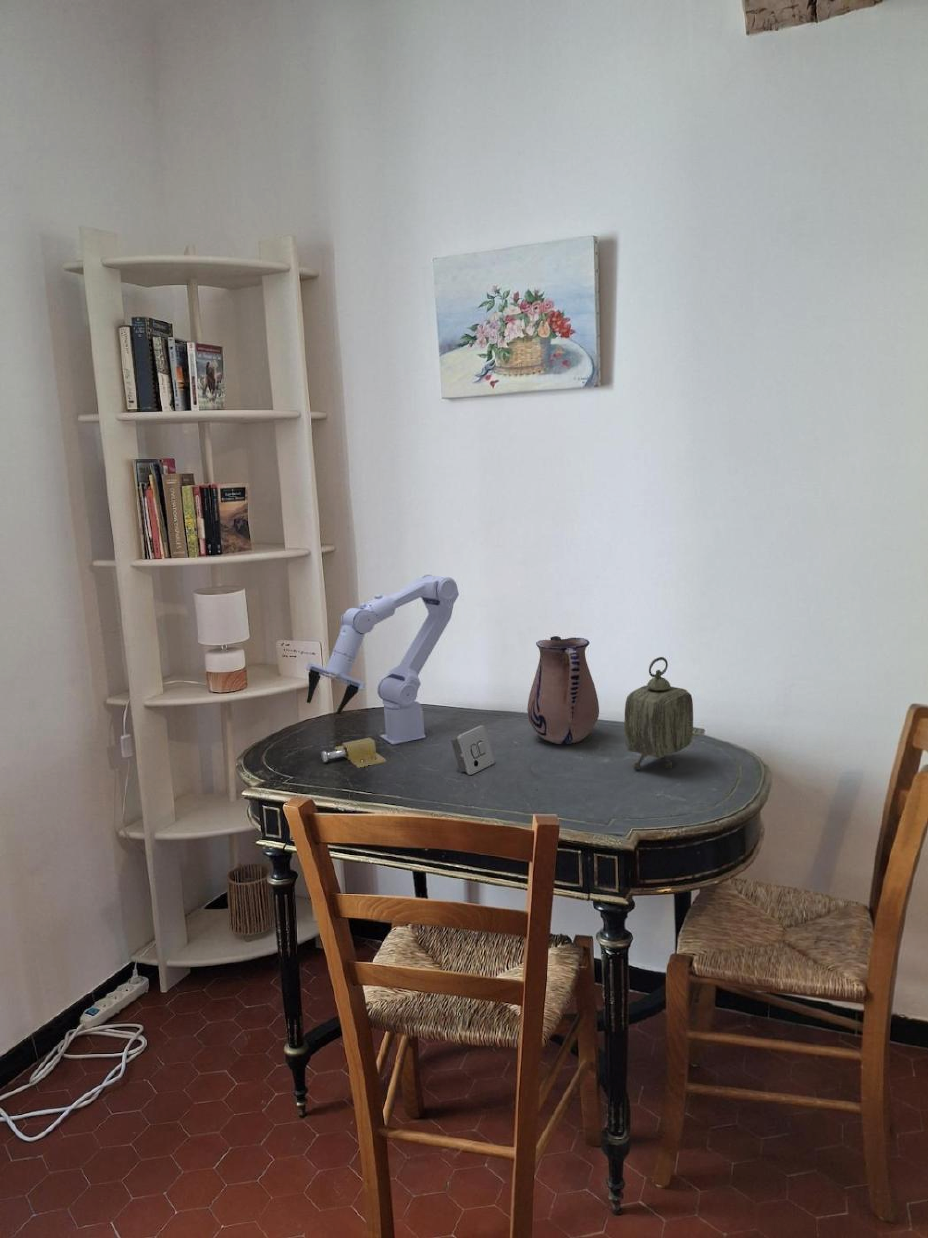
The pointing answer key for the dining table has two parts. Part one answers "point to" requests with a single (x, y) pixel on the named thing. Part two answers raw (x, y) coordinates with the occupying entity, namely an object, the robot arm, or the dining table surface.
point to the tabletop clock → (658, 718)
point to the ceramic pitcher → (563, 692)
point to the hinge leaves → (362, 752)
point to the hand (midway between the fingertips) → (323, 708)
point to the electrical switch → (473, 750)
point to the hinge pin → (333, 754)
